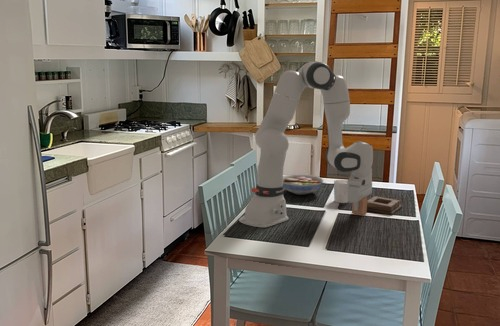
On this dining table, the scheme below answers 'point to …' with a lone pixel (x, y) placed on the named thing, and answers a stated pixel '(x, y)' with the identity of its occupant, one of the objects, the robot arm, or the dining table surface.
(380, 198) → the walnut socket base
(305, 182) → the ramen bowl
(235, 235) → the dining table surface
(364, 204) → the terracotta block
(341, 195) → the white cup
